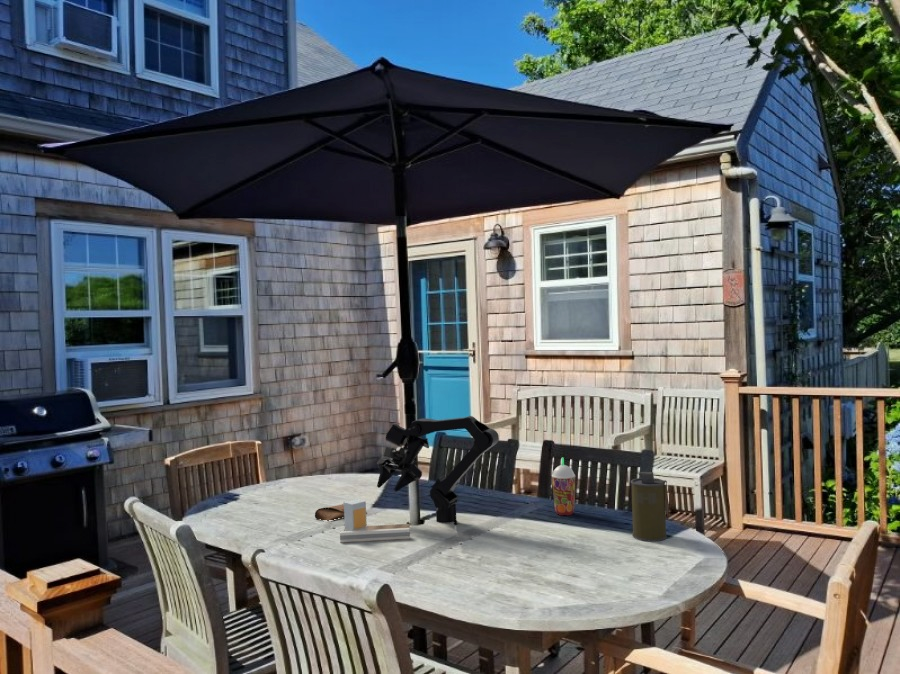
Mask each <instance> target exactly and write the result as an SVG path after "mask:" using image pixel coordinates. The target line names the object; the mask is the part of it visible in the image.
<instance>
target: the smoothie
mask: <svg viewBox="0 0 900 674" xmlns="http://www.w3.org/2000/svg"><path fill="white" fill-rule="evenodd" d="M551 480H552V481H551V483H552V492H553V502H554V504H553V505H554V511H555V513H556V514H557V515H558V514H559V515H558V516H563V515H567V516H572V515H573V513H574V511H575V502H576V501H575V500H576V499H575V498H576V497H575V495H576V474H575V473H574V471H573V469H572V468H571V466H568V465H566V464H565V459H564V457H561V464H560V465H558V466H557V467H555V469H554V470H553V471H552V474H551Z"/></svg>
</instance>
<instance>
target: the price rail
mask: <svg viewBox="0 0 900 674" xmlns="http://www.w3.org/2000/svg"><path fill="white" fill-rule="evenodd" d="M410 528H411V527H410ZM410 528H397V529H378V530H360V531H344V530H342V531H340V532H339V541H340V542H353V543H356V542H355V541H371V542H374V541H373V540H389V541H393V540H392V539H407V540H410V539H411V538H410V537H411V531H410V530H411V529H410ZM340 542H339V543H340Z"/></svg>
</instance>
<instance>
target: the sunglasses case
mask: <svg viewBox="0 0 900 674" xmlns="http://www.w3.org/2000/svg"><path fill="white" fill-rule="evenodd" d="M342 517H344V503H343V504H338V505H333V506H329V507H328V506H327V507H322V508H318V509H317V510H315V512H314V518H317V519H316V520H318V519H321V520H327V521H329V520H334V519H338V518H342ZM321 520H320V521H321ZM334 521H335V520H334Z"/></svg>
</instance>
